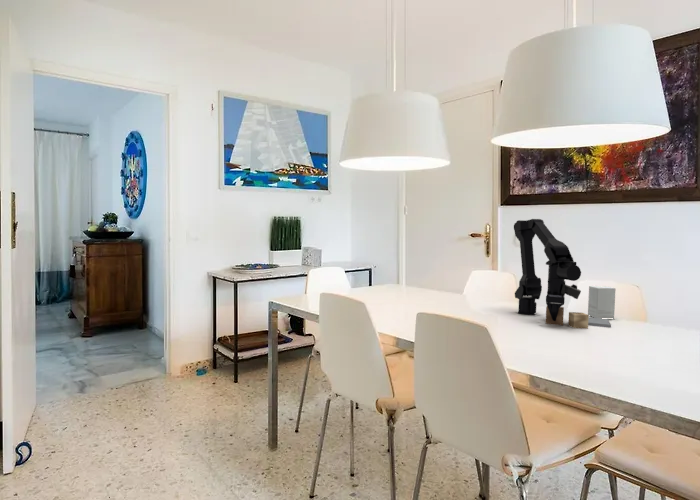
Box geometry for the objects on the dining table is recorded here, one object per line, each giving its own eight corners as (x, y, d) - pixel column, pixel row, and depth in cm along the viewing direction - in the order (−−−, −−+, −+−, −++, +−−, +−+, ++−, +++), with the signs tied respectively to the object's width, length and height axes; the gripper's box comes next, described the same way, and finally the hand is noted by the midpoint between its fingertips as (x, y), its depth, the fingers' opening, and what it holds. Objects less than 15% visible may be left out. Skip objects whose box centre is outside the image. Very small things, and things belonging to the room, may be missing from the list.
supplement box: (614, 319, 186) (616, 288, 185) (596, 319, 186) (597, 287, 186) (605, 316, 193) (606, 285, 193) (587, 315, 194) (588, 285, 193)
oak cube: (573, 328, 169) (574, 314, 168) (568, 325, 174) (568, 312, 173) (587, 328, 168) (588, 315, 168) (582, 325, 173) (582, 312, 173)
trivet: (574, 324, 176) (574, 321, 176) (573, 318, 187) (574, 316, 187) (610, 327, 171) (611, 324, 171) (607, 321, 182) (608, 319, 182)
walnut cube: (545, 323, 175) (546, 308, 175) (546, 321, 181) (546, 305, 181) (563, 325, 173) (563, 309, 173) (563, 322, 178) (563, 307, 178)
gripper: (580, 281, 164) (578, 325, 165) (579, 276, 181) (577, 316, 182) (546, 279, 169) (544, 322, 170) (548, 275, 186) (546, 313, 187)
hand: (554, 318), depth 177 cm, fingers open, 9 cm apart
